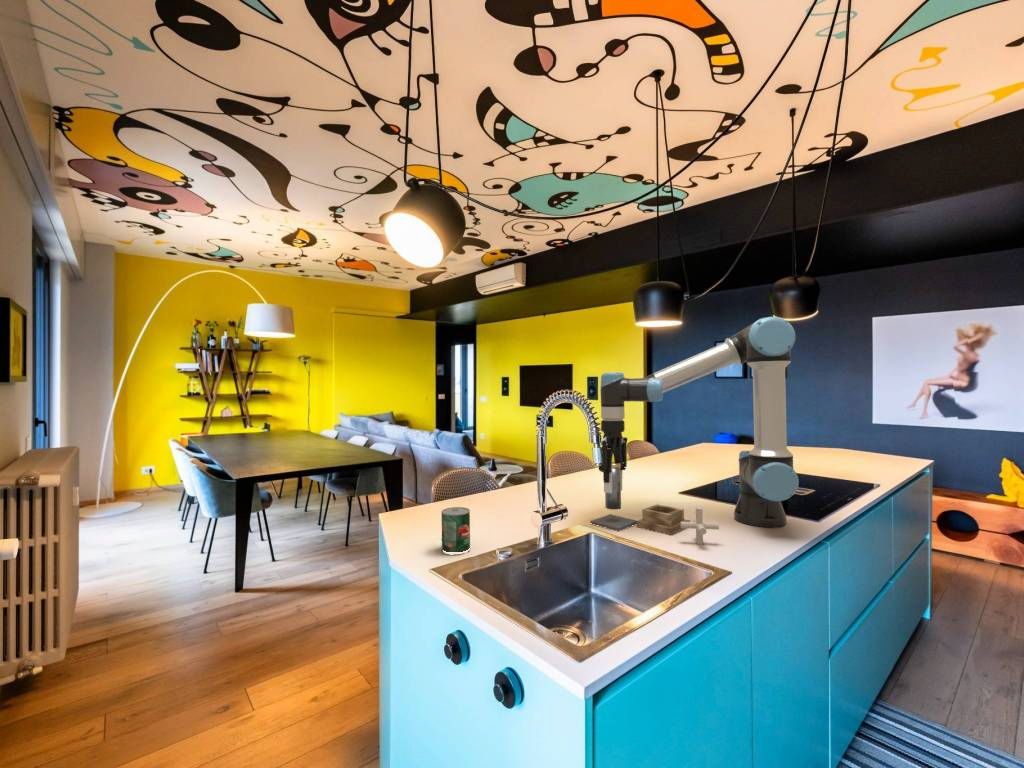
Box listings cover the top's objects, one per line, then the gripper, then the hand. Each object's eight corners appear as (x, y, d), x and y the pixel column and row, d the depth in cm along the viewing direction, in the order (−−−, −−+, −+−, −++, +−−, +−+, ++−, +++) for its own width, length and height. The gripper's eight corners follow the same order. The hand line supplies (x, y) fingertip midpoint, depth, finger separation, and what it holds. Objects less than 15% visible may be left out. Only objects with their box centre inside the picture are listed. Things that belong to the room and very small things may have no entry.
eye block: (690, 526, 147) (690, 509, 147) (671, 535, 139) (671, 517, 139) (655, 519, 156) (655, 502, 156) (636, 527, 148) (636, 509, 148)
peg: (624, 507, 151) (623, 462, 152) (615, 510, 148) (614, 464, 148) (611, 504, 155) (610, 461, 155) (602, 507, 152) (601, 463, 152)
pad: (638, 523, 151) (638, 520, 151) (618, 531, 144) (618, 528, 144) (609, 517, 159) (609, 514, 159) (590, 524, 152) (590, 520, 152)
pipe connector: (722, 550, 126) (722, 513, 126) (683, 548, 128) (683, 512, 128) (714, 538, 136) (713, 504, 136) (678, 536, 138) (677, 503, 138)
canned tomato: (471, 554, 126) (470, 513, 126) (441, 556, 124) (441, 515, 124) (469, 544, 133) (469, 506, 134) (441, 546, 132) (441, 507, 132)
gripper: (618, 417, 160) (619, 485, 160) (586, 420, 148) (586, 493, 148) (637, 418, 155) (638, 488, 155) (605, 421, 143) (606, 497, 143)
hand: (613, 490), depth 152 cm, fingers closed on peg, 5 cm apart
